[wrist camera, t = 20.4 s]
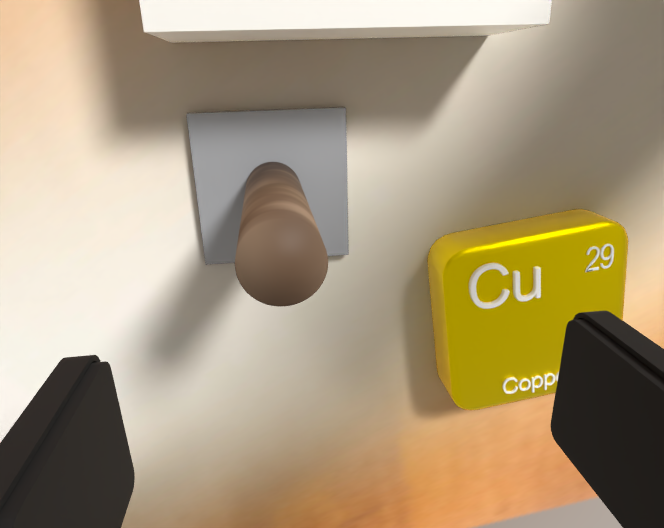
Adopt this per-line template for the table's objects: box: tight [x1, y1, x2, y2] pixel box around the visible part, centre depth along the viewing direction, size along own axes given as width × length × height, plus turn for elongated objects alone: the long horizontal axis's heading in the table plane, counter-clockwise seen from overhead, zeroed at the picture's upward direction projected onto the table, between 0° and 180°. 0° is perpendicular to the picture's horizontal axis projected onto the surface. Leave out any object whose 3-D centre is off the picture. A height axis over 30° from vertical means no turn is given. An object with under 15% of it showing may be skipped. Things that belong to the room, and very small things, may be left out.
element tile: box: [427, 209, 628, 410], centre depth 41 cm, size 15×15×5 cm
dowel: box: [235, 162, 328, 306], centre depth 29 cm, size 4×4×16 cm
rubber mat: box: [186, 107, 348, 265], centre depth 36 cm, size 11×11×1 cm
